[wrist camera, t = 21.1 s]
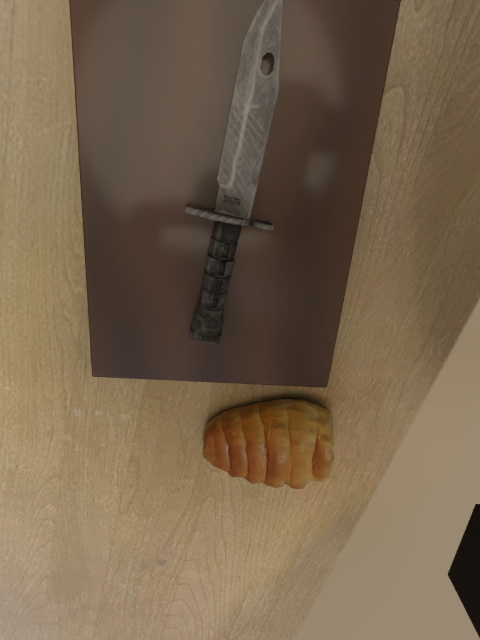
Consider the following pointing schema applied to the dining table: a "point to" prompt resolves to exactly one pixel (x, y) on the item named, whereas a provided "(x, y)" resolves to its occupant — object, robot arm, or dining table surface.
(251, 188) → the knife
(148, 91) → the cutting board
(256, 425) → the pastry
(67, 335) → the dining table surface
